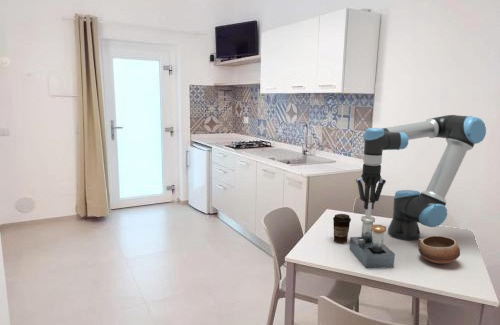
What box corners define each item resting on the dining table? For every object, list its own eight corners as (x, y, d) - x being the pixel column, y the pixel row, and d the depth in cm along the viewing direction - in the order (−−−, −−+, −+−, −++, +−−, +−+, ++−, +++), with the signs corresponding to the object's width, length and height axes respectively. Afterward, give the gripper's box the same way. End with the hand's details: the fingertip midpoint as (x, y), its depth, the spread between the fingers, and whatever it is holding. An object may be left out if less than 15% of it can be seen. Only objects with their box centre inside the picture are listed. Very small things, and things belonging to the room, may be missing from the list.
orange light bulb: (380, 246, 162) (382, 224, 160) (386, 252, 156) (388, 229, 154) (367, 247, 161) (369, 224, 159) (373, 253, 156) (374, 229, 154)
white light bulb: (370, 237, 173) (371, 215, 171) (375, 242, 167) (377, 220, 165) (357, 237, 172) (359, 216, 170) (362, 242, 166) (364, 220, 164)
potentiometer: (363, 243, 165) (363, 238, 165) (365, 246, 162) (366, 240, 162) (357, 244, 165) (357, 238, 164) (359, 246, 162) (359, 240, 162)
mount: (374, 248, 175) (375, 236, 174) (393, 267, 157) (394, 254, 155) (349, 249, 174) (350, 237, 173) (365, 268, 155) (366, 254, 154)
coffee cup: (349, 245, 178) (351, 219, 176) (331, 243, 180) (333, 217, 177) (348, 238, 187) (350, 213, 184) (331, 237, 188) (333, 212, 186)
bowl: (412, 252, 171) (414, 232, 169) (447, 253, 171) (449, 232, 169) (426, 269, 156) (429, 246, 154) (465, 270, 155) (468, 247, 153)
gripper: (382, 162, 167) (378, 213, 172) (354, 162, 166) (350, 213, 170) (390, 165, 160) (385, 218, 164) (360, 165, 159) (356, 219, 163)
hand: (368, 216), depth 167 cm, fingers closed
